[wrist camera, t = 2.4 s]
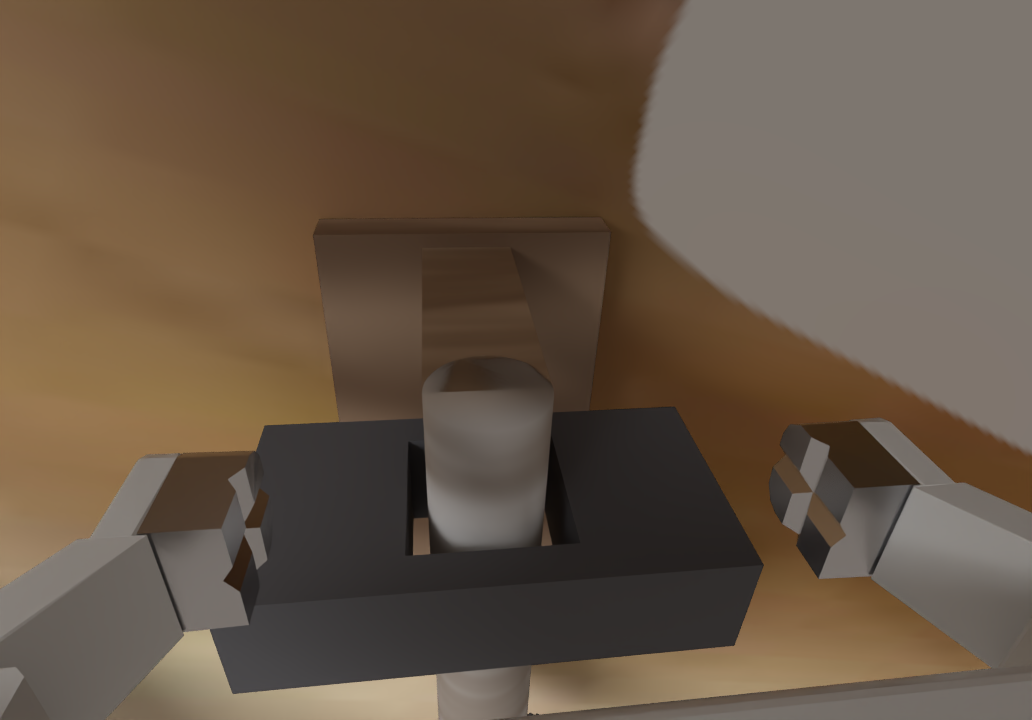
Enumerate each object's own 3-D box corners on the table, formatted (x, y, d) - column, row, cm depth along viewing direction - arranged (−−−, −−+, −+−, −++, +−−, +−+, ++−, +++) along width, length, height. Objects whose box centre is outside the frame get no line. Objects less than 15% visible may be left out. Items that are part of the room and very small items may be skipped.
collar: (264, 425, 18) (202, 609, 13) (674, 406, 19) (763, 565, 14) (281, 502, 19) (232, 694, 14) (659, 479, 21) (734, 645, 16)
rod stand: (319, 219, 22) (237, 427, 12) (600, 217, 23) (729, 404, 13) (377, 652, 35) (359, 916, 25) (553, 636, 36) (601, 882, 27)
